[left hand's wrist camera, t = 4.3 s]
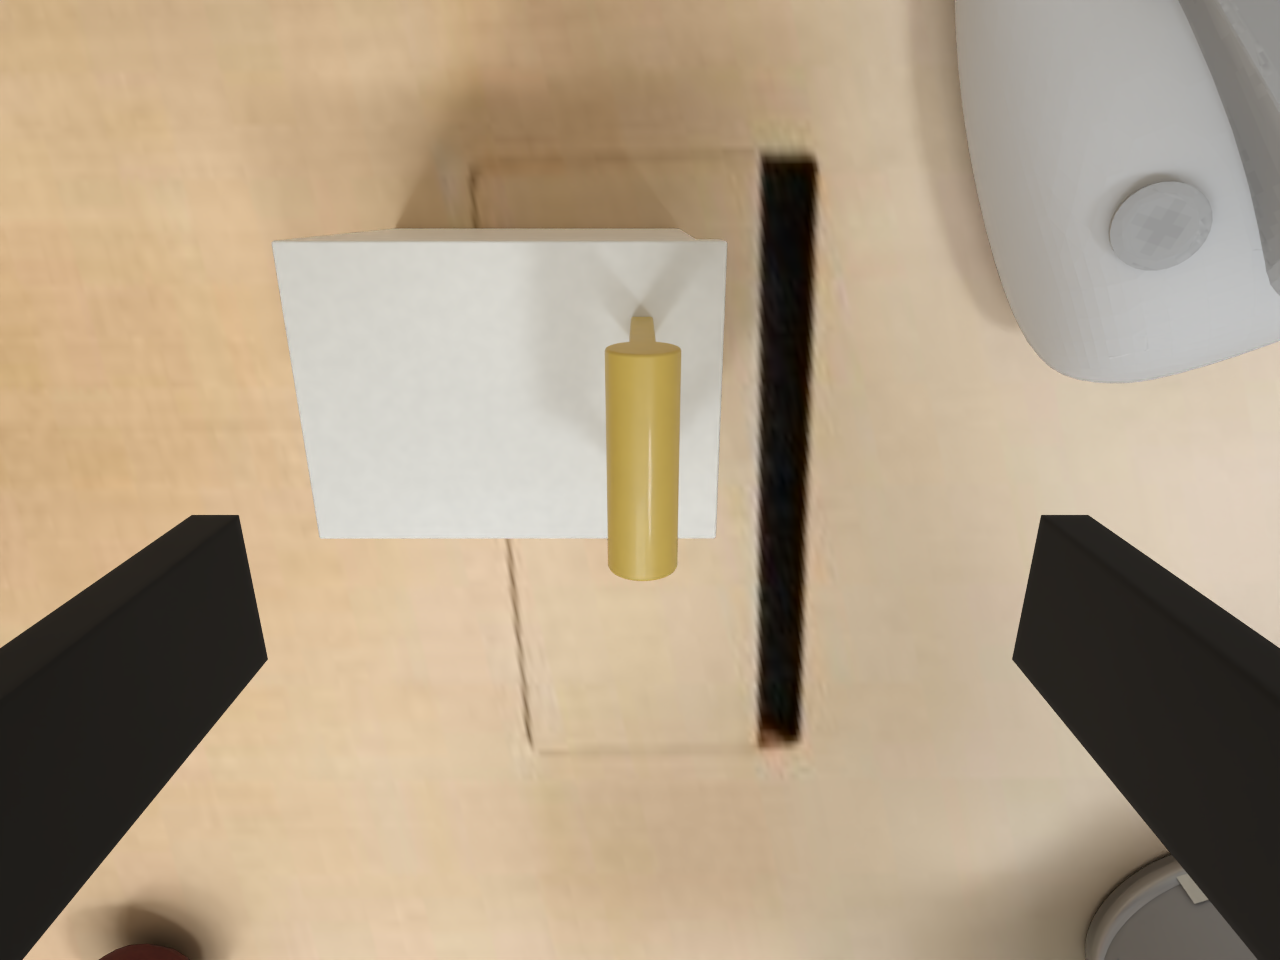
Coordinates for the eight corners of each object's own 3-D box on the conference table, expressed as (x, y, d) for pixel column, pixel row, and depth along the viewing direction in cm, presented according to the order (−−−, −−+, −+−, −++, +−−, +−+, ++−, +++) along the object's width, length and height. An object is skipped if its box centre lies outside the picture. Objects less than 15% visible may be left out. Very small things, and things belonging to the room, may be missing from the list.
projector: (1528, -125, 29) (2311, -415, 16) (1213, 417, 37) (1553, 543, 23) (1014, -336, 27) (1397, -888, 13) (792, 286, 35) (892, 340, 21)
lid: (723, 239, 24) (764, 256, 16) (712, 524, 27) (742, 654, 19) (288, 239, 24) (116, 256, 16) (332, 525, 27) (208, 654, 19)
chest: (679, 228, 34) (697, 239, 24) (676, 436, 37) (690, 524, 27) (393, 228, 34) (288, 238, 24) (416, 436, 37) (332, 524, 27)
